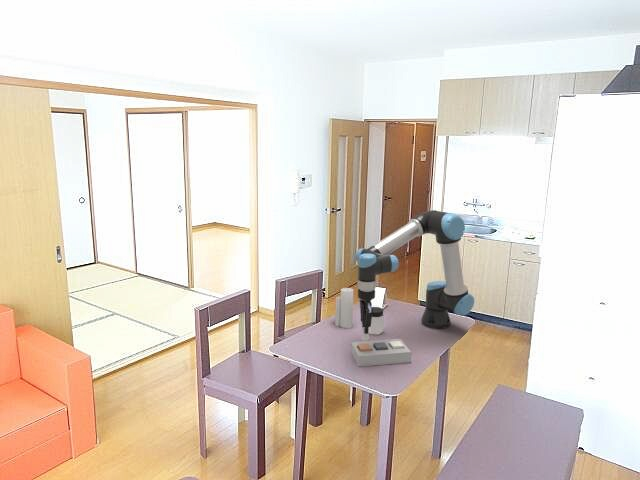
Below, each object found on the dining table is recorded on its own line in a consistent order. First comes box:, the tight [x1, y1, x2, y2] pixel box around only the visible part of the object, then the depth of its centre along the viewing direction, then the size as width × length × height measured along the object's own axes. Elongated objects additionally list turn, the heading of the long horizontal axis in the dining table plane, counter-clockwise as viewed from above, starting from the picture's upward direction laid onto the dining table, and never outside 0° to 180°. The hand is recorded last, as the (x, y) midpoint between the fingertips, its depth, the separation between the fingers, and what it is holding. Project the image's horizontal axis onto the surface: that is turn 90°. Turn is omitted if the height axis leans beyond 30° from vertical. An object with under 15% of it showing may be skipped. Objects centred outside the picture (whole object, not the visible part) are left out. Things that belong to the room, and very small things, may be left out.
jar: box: [369, 306, 385, 336], centre depth 242 cm, size 9×8×12 cm
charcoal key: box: [374, 342, 388, 350], centre depth 214 cm, size 5×5×3 cm
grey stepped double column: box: [334, 287, 354, 329], centre depth 249 cm, size 11×7×20 cm, turn 48°
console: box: [350, 338, 412, 368], centre depth 214 cm, size 24×14×5 cm, turn 101°
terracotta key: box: [358, 343, 372, 352], centre depth 212 cm, size 5×5×3 cm
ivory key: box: [389, 341, 404, 349], centre depth 215 cm, size 5×5×3 cm
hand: (365, 339), depth 211 cm, fingers closed
